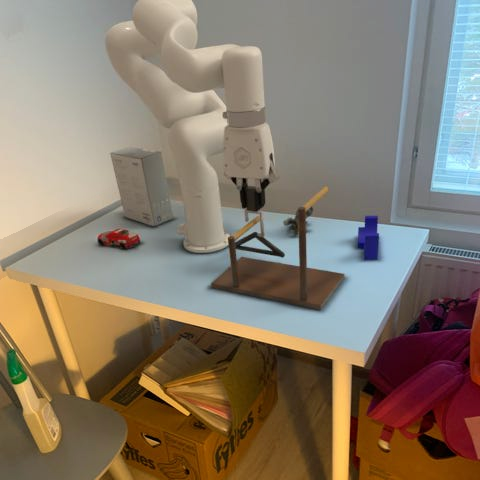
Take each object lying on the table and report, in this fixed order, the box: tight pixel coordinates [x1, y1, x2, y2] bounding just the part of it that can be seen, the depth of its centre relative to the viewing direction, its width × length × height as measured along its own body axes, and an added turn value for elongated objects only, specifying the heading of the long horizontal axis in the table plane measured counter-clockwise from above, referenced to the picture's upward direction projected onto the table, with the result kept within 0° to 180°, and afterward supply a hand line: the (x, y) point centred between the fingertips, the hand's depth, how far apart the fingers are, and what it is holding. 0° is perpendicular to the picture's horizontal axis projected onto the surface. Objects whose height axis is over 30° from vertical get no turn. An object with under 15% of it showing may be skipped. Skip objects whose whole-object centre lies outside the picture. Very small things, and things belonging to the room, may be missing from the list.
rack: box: [210, 186, 345, 311], centre depth 103 cm, size 26×14×21 cm, turn 60°
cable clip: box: [357, 215, 380, 261], centre depth 117 cm, size 12×4×6 cm, turn 168°
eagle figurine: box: [283, 206, 314, 237], centre depth 130 cm, size 8×7×9 cm
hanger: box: [235, 185, 286, 258], centre depth 109 cm, size 14×2×15 cm, turn 60°
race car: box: [97, 228, 141, 250], centre depth 135 cm, size 13×5×4 cm, turn 60°
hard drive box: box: [109, 146, 174, 227], centre depth 145 cm, size 16×8×20 cm, turn 46°
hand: (253, 206), depth 107 cm, fingers closed on hanger, 2 cm apart
